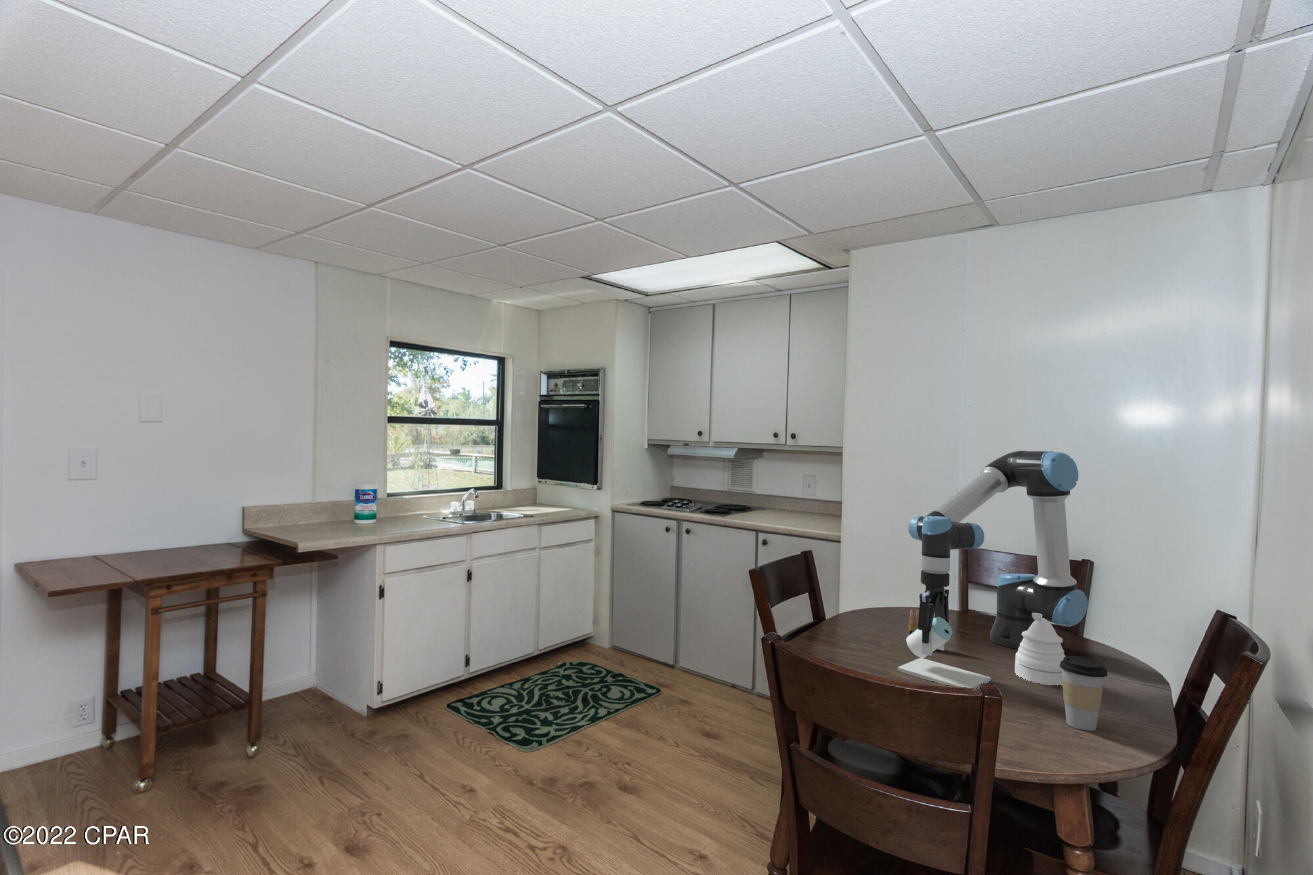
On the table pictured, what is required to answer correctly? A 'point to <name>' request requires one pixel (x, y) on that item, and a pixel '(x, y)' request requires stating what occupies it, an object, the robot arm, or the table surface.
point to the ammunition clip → (911, 622)
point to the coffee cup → (1082, 691)
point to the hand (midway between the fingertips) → (932, 651)
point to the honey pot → (1040, 653)
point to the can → (939, 636)
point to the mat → (943, 673)
